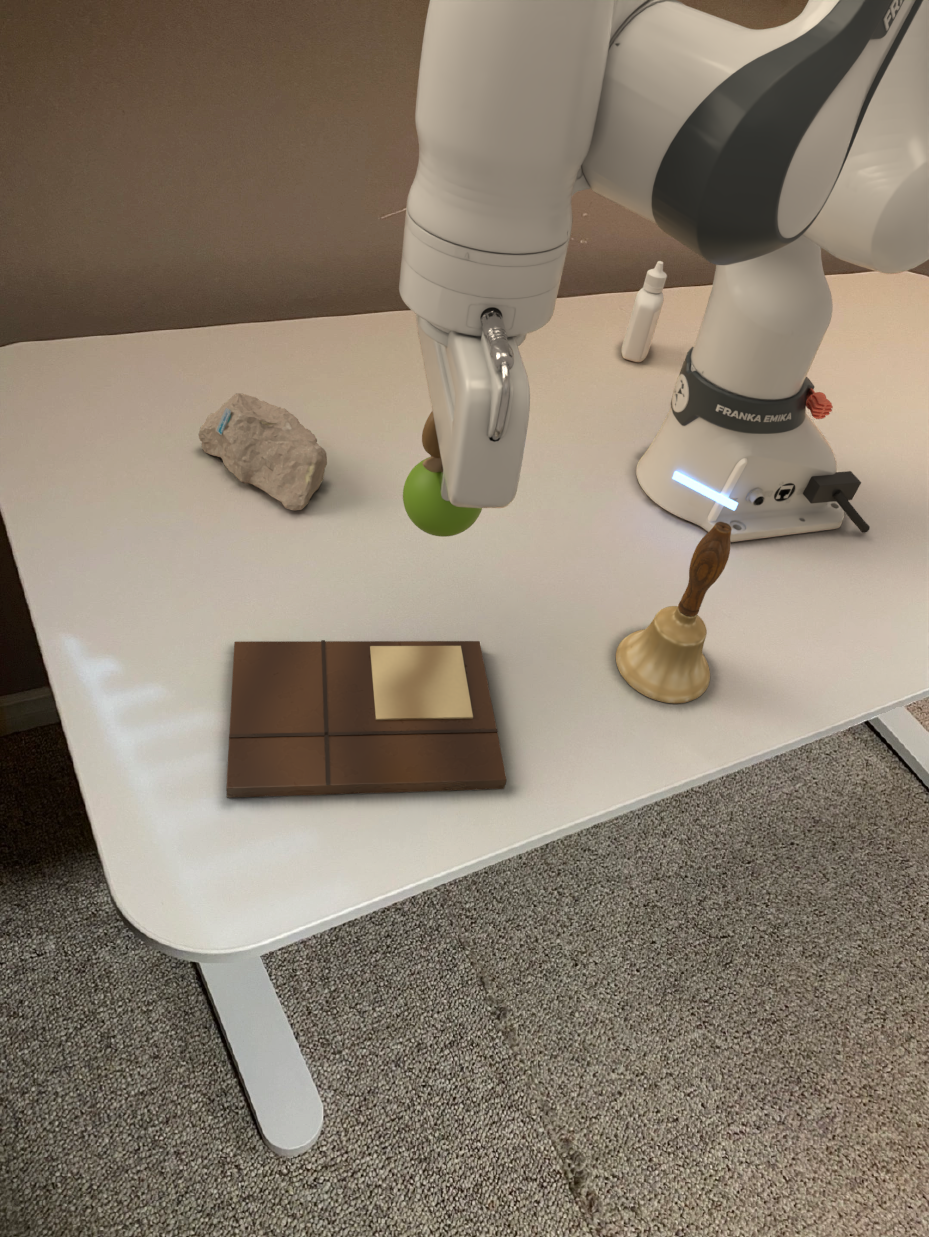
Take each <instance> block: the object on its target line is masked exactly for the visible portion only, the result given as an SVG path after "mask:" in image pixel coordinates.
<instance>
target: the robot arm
mask: <svg viewBox="0 0 929 1237" xmlns="http://www.w3.org/2000/svg"><path fill="white" fill-rule="evenodd" d="M421 44H422V45H421V51H420V52H421V53H420V61H419V69H418V70H419V71H418V79H417V89H416V100H415V111H414V112H415V113H414V122H415V129H416V135H417V141H418V162H417V166H416V172H415V175H414V178H413V182H412V183H411V186H410V188H409V191H408V195H407V198H406V206H405V208H406V209H405V219H404V230H403V238H402V239H403V240H402V241H403V242H402V251H401V260H400V261H401V263H400V270H399V271H400V272H399V283H398V292H399V295H400V297H401V300H402V301H403V303H404V305H406V306H407V308H408V309H409V310H410V311H411V312H413V313H414V314H415V319H416V320H415V321H416V329H417V330H416V331H417V336H418V341H419V347H420V352H421V356H422V363H423V369H424V374H425V379H426V384H427V389H428V395H429V396H428V397H429V401H430V406H431V412H432V411H433V416H434V423H435V428H436V433H437V439H438V444H439V450H440V455H441V460H442V467H441V474H440V480H439V483H440V490H441V496H442V498H443V499H444V500H446V501H450V502H451V504H452V505H454V506H457V507H467V508H482V509H504V508H506V507H509V505H510V504H511V503H512V502H513V501H514V499H515V498H516V495H517V492H518V488H519V484H520V483H519V482H520V478H521V473H522V472H521V471H522V466H523V460H524V454H525V447H526V443H527V442H526V441H527V434H528V429H529V428H528V427H529V419H530V412H531V410H530V409H531V386H530V381H529V377H528V373H527V370H526V367H525V364H524V361H523V357H522V355H521V351H520V348H519V346H521V345H522V344H523V343H524V341H525V340H526V339H527V335H528V334H531V333H534V332H536V331H538V330H540V329H542V328H544V327H545V326H546V325H547V324H548V323H549V322H550V321H551V319H552V318H553V316H554V312H555V307H556V303H557V298H558V294H559V289H560V286H561V281H562V276H563V271H564V268H565V263H566V259H567V254H568V249H569V245H570V241H571V236H572V230H573V222H574V220H573V219H574V217H573V216H574V215H573V197H574V195H575V194H576V193H578V192H580V191H586V190H591V192H593V193H595V194H596V195H598V196H600V197H601V198H603V199H605V200H607V201H609V202H611V203H613V204H615V205H616V206H619V207H621V208H623V209H624V210H626V211H629V212H631V213H633V214H634V215H636V216H639V217H641V218H643V219H644V220H646V221H648V222H650V223H653V224H654V225H656V226H658V228H659V229H660V230H661V231H662V232H663V233H665V234H667V235H668V236H670V237H671V238H672V239H674V240H675V241H677V242H679V243H680V244H682V245H683V246H684V247H686V248H687V249H689V250H690V251H692V252H693V253H695V254H697V255H698V256H699V257H701V258H702V259H704V260H706V262H708V263H710V264H712V265H715V270H714V276H713V281H712V285H711V290H710V294H709V296H708V300H707V304H706V307H705V310H704V313H703V317H702V320H701V322H700V326H699V329H698V333H697V336H696V338H695V341H694V345H693V346H692V347H691V348H690V349H689V350H688V352H687V353H686V355H685V358H684V360H683V363H682V366H681V369H680V371H679V374H678V377H677V379H676V381H675V384H674V388H673V391H672V396H671V400H670V408H669V409H668V412H667V414H666V416H665V418H664V420H663V422H662V424H661V426H660V428H659V430H658V431H657V434H656V435H655V437H654V439H653V440H652V441H651V444H650V445H649V446H648V448H647V449H646V450H645V452H644V453H643V455H642V456H641V457H640V458H639V460H638V462H637V463H636V467H635V468H636V469H635V474H636V478H637V481H638V484H639V485H640V488H641V489H642V490H643V492H644V493H645V494H646V495H647V496H648V497H649V498H650V499H651V501H652V502H654V503H655V504H656V505H658V506H659V507H660V508H663V509H664V510H665V511H667V512H668V513H671V514H672V515H674V516H675V517H678V518H680V519H681V520H684V521H686V522H687V521H688V522H689V523H693V524H694V525H696V526H698V527H700V528H703V530H704V531H706V532H707V533H708V532H709V531H710V530H711V529H712V528H713V527H714V525H715V524H716V523H717V522H724V523H727V524H729V525H730V526H731V528H732V531H731V537H730V543H734V542H735V543H736V542H744V541H751V540H760V539H767V538H774V537H775V538H776V537H781V536H782V537H783V536H790V535H791V536H792V535H797V534H798V535H799V534H806V533H814V532H821V531H822V532H823V531H830V530H835V529H836V530H837V529H839V528H841V526H842V523H843V520H844V517H845V514H846V515H847V517H848V518H849V519H850V521H851V522H852V523H853V524H854V525H855V527H857V529H858V530H859V531H860V532H861V533H863V534H866V533H868V532H869V531H870V526H869V524H868V523H867V522H866V520H865V519H863V517H862V516H861V514H860V513H859V512H858V511H857V510H856V509H855V507H854V506H853V504H852V503H851V502H850V501H853V499H854V497H855V496H856V494H857V492H858V490H859V488H860V487H861V484H862V481H861V480H860V479H859V478H858V477H857V475H855V474H854V473H853V471H851V470H847V471H838V465H837V464H838V463H837V459H836V455H835V453H834V450H833V448H832V446H831V445H830V443H829V441H828V439H827V438H826V437H825V436H824V434H823V433H822V431H821V430H820V429H819V427H818V426H817V425H816V423H815V422H814V421H813V419H811V417H810V416H809V415H808V414H807V409H808V410H809V411H810V414H811V416H812V417H813V418H814V419H816V420H822V419H825V418H826V416H829V415H830V414H831V413H832V412H833V409H834V406H833V403H832V402H831V401H830V400H829V399H828V398H827V396H826V394H825V393H824V392H822V391H821V392H820V391H815V385H814V384H813V382H812V380H811V379H810V378H809V377H808V374H809V371H810V369H811V367H812V364H813V363H814V360H815V358H816V355H817V353H818V351H819V349H820V346H821V344H822V342H823V340H824V338H825V336H826V333H827V331H828V328H829V326H830V324H831V322H832V318H833V310H834V304H833V295H832V291H831V288H830V286H829V283H828V280H827V278H826V275H825V272H824V268H823V261H822V249H823V251H826V252H827V253H829V254H830V255H832V256H833V257H834V258H836V259H838V260H841V261H844V262H846V263H849V264H852V265H855V266H857V267H860V268H864V269H867V270H870V271H874V272H878V273H880V274H884V275H898V274H902V273H905V272H908V271H910V270H913V269H915V268H917V267H918V266H921V265H922V264H924V263H926V262H928V260H929V0H808V1H807V3H806V5H805V7H804V8H803V10H802V12H801V13H800V14H799V15H798V16H797V17H795V18H794V19H792V20H790V21H788V22H787V23H784V24H782V25H778V26H774V27H770V28H764V29H763V28H762V29H754V28H749V27H746V26H743V25H740V24H737V23H735V22H733V21H729V20H727V19H724V18H722V17H717V16H716V15H713V14H710V13H708V12H705V11H702V10H700V9H696V8H694V7H692V6H688V5H686V4H684V3H683V2H682V1H680V0H429V2H428V8H427V14H426V19H425V25H424V31H423V38H422V43H421Z"/></svg>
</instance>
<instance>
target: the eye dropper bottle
mask: <svg viewBox="0 0 929 1237" xmlns="http://www.w3.org/2000/svg"><path fill="white" fill-rule="evenodd" d="M667 278H668V274H667V273H666V272H665V271H664V262H663V261H661V260H658V261H657V262H656V264H655V266H654V268H650V269H648V270H647V272H646V275H645V278H644V282H643V285H642V287H641V288H640V289H639V290H638V291H637V293H636V295H635V298H634V302H633V306H632V309H631V312H630V316H629V320H628V324H627V327H626V330H625V333H624V337H623V342H622V344H621V349H620V352H621V356H622V358H623V359H624V360H627V361H631V362H634V363H641V362H643V361H644V360H645V359H646V358H647V357H648V355H649V351H650V348H651V344H652V341H653V339H654V335H655V332H656V329H657V325H658V321H659V319H660V315H661V312H662V309H663V306H664V301H665V297H664V296H665V295H664V293H663V291H664V288H665V285H666V281H667Z"/></svg>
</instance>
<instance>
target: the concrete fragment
mask: <svg viewBox="0 0 929 1237" xmlns="http://www.w3.org/2000/svg"><path fill="white" fill-rule="evenodd" d="M198 438H199V441H200V442H201V448H202V451H203V452H204V453H206V454H208V455H210V456H214V457H217V458H221V460H222V464H223V465H224V467H225V468H226V469H227V470H228V472H230V473H232V474H233V475H234V476H235V477H236V478H237V480H238V481H239V482H241V483H245V484H249V485H253V486H254V487H256V488H257V489H258V488H259V489H260V490H262V491H263V492H265V494H267V495H269V496H270V497H271V498H274V499H275V500H277V501H278V502H280V503H281V504H282V506H283V507H284V509H287V510H291V511H294V512H295V511H302V510H303V509H304V508H305V507H306V506H307V505H308V504H309V503H310V499H311V498H312V496H313V495H314V493H315V492H316V491H318V490H319V488H320V486H321V484H322V482H323V481H324V479H325V478H324V477H325V472H326V470H325V469H326V467H327V465H328V456H327V452H326V450H325V449H324V448H323V447H322V446H321V445H320V444H319V443H318V439H317V437H316V434H314V433H313V432H312V431H311V430H310V429H309V428H306V427H305V426H304V425H303V424H301V422H300V421H299V419H298V418H297V417H296V416H295V415H294V414H293V413H291V412H289V410H287V409H286V408H282V407H281V406H276V405H274V404H272V403H269V402H267V401H265V400H260V399H259V398H258V397H257V396H251V395H249V394H246V393H244V392H240V393H235V394H233V395H232V396H231V397H230V398H229V399H228V400H227V401H226V402H224V403H223V404H221V406H220V407H219V408H218V409H217V410H216V411H215V412H211V413H210V414H209V415H208V416H207V417H206V419H205V421H204V423H203V424H202V425H201V426H200V428H199V431H198Z"/></svg>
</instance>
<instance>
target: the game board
mask: <svg viewBox="0 0 929 1237" xmlns="http://www.w3.org/2000/svg"><path fill="white" fill-rule="evenodd" d="M232 660H233V661H232V662H233V663H232V679H231V680H232V681H231V698H230V699H231V700H230V713H229V714H230V715H229V732H228V749H227V767H226V768H227V770H226V787H225V789H226V790H225V791H226V798H228V799H231V798H236V799H237V798H264V797H299V796H323V795H324V796H327V795H353V794H354V795H355V794H357V795H358V794H385V793H387V794H388V793H389V794H390V793H417V792H419V793H420V792H447V791H450V792H451V791H476V790H477V791H478V790H479V791H481V790H504V789H505V787H506V783H507V775H506V769H505V764H504V760H503V754H502V749H501V744H500V738H499V730H498V727H497V723H496V718H495V712H494V708H493V702H492V697H491V692H490V686H489V682H488V677H487V670H486V667H485V666H486V665H485V661H484V656H483V651H482V645H481V641H480V640H438V641H437V640H411V641H410V640H391V641H390V640H384V641H383V640H379V641H378V640H370V641H369V640H367V641H365V640H364V641H363V640H359V641H358V640H350V641H349V640H346V641H345V640H343V641H341V640H338V641H337V640H334V641H333V640H330V641H329V640H327V641H326V640H325V639H321V641H317V640H314V641H313V640H312V641H311V640H309V641H306V640H305V641H303V640H302V641H300V640H298V641H296V640H295V641H293V640H292V641H290V640H289V641H284V640H283V641H280V640H279V641H278V640H277V641H276V640H275V641H271V640H270V641H269V640H268V641H267V640H266V641H265V640H264V641H259V640H258V641H257V640H256V641H252V640H251V641H234V644H233V659H232Z"/></svg>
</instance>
